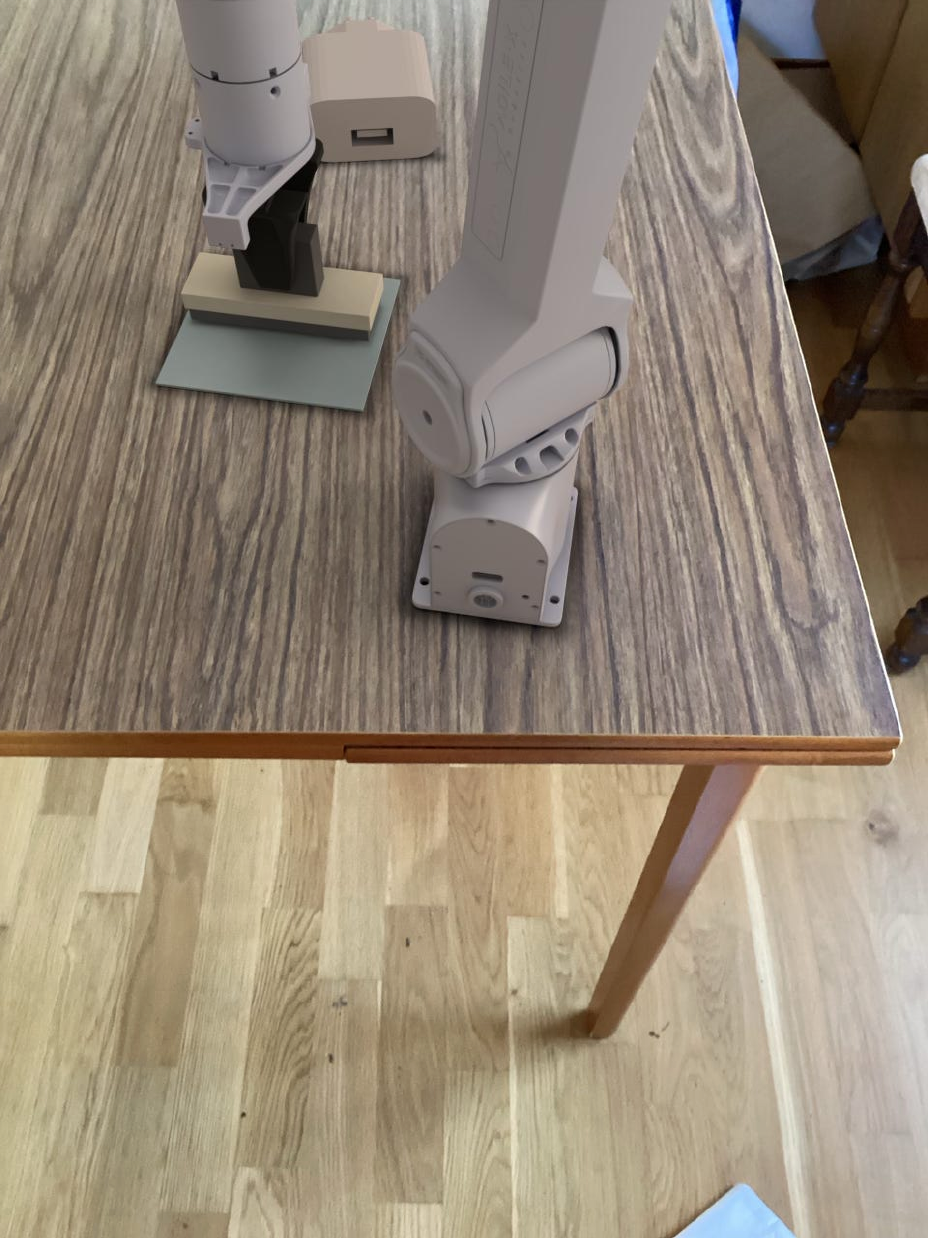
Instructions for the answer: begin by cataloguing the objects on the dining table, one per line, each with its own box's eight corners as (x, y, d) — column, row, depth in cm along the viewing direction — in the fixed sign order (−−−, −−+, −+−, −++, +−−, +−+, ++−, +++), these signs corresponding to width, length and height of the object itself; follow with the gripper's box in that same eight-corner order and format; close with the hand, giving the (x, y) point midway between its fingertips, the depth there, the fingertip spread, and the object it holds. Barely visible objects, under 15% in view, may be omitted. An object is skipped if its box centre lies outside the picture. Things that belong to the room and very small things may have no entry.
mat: (362, 412, 62) (362, 409, 62) (156, 385, 63) (155, 382, 63) (400, 281, 68) (400, 279, 68) (212, 259, 69) (211, 256, 69)
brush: (371, 343, 65) (365, 262, 59) (187, 320, 65) (165, 238, 60) (384, 301, 67) (379, 218, 61) (205, 279, 68) (185, 196, 62)
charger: (418, 47, 84) (436, 157, 76) (305, 52, 83) (311, 163, 75) (417, -15, 80) (435, 95, 72) (298, -10, 79) (303, 101, 71)
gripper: (209, -27, 56) (249, 192, 68) (121, 126, 48) (183, 345, 60) (335, -15, 56) (354, 204, 67) (266, 142, 48) (300, 359, 59)
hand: (281, 272), depth 63 cm, fingers closed on brush, 2 cm apart
